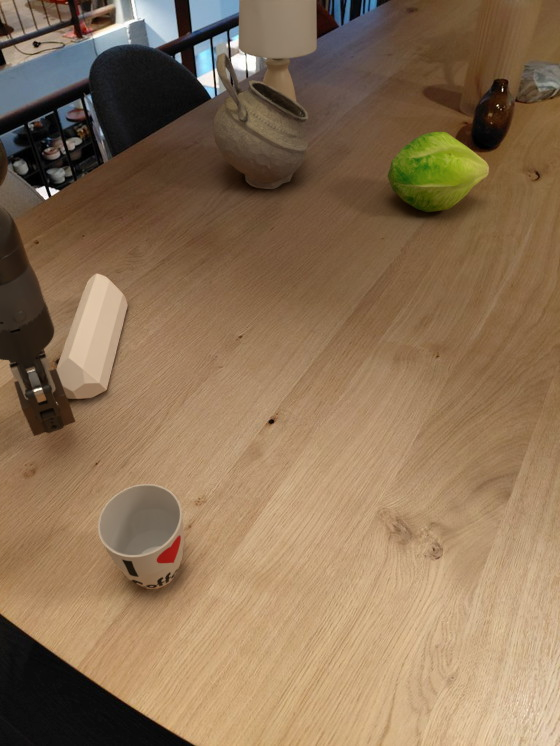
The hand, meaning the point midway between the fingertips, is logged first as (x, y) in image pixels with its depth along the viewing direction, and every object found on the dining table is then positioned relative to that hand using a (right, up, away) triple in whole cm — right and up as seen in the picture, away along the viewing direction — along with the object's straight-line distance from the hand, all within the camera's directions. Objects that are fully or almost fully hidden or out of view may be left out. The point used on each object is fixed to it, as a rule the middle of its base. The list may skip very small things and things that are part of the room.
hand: (49, 413), depth 71 cm
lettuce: (+61, +40, +50) cm, 88 cm away
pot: (+25, +49, +58) cm, 80 cm away
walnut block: (0, 0, 0) cm, 0 cm away
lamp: (+28, +69, +78) cm, 108 cm away
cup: (+15, -16, -8) cm, 24 cm away
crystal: (0, +9, +17) cm, 19 cm away
